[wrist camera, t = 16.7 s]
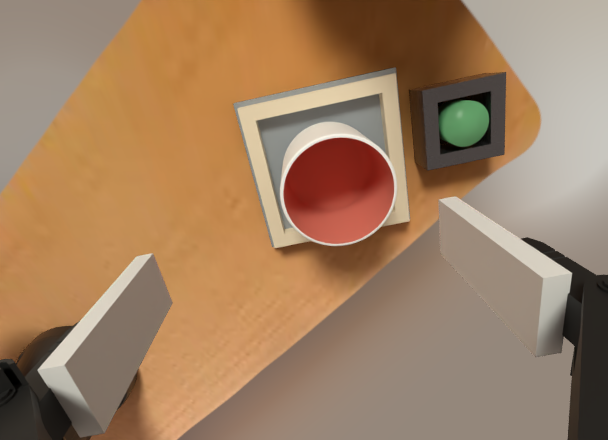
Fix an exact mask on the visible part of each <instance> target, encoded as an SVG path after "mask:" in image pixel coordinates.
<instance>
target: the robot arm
mask: <svg viewBox="0 0 608 440" xmlns="http://www.w3.org/2000/svg"><path fill="white" fill-rule="evenodd" d="M439 225H440V227H439V228H440V253H441V255H442V256H443V257H444V258H445V259H446V260H447V261H448V262H449V263H450V264H451V266H453V268H454V269H455V270H456V271H457V272H458V273H459V274H460V275H461V276H462V278H463V279H464V280H465V281H466V282H467V283H468V284H469V285H470V286H471V287H472V289H473V290H474V291H475V292H476V293H477V294H478V295H479V296H480V297H481V298H482V299H483V301H484V302H485V303H486V304H487V305H488V306H489V307H490V308H491V309H492V310H493V311H494V313H495V314H496V315H497V316H498V317H499V318H500V319H501V320H502V321H503V322H504V323H505V324H506V326H507V327H508V328H509V329H510V330H511V331H512V332H513V333H514V334H515V335H516V337H517V338H518V339H519V340H520V341H521V342H522V343H523V344H524V345H525V346H526V348H527V349H528V350H529V351H530V352H531V353H532V354H533V355H534V356H535V357H540V356H546V355H551V354H557V353H561V351H562V344H563V337H565V338H566V339H568V340H569V341H570V342H571V343H572V344H573V345H574V346H575V347H574V354H573V360H572V367H571V374H570V375H571V376H572V383H571V396H570V411H569V412H570V413H569V427H568V440H608V275H595V274H594V273H592V272H590V271H589V270H587V269H585V268H584V267H582V266H581V265H579V264H577V263H576V262H574V261H572V260H571V259H569V258H567V257H565V256H564V255H563V254H561V253H559V252H558V251H555V250H554V249H553V248H551V247H550V246H548V245H546V244H544V243H543V242H540V241H537V240H534V239H530V238H522V239H520V238H518V237H516V236H515V235H513V234H512V233H510V232H509V231H507V230H506V229H504V228H503V227H501V226H500V225H498V224H497V223H495V222H494V221H492V220H491V219H489V218H488V217H486V216H485V215H483V214H482V213H480V212H478V211H477V210H475V209H474V208H472V207H471V206H469V205H468V204H466V203H465V202H463V201H462V200H460V199H459V198H457V197H456V196H455V197H450V198H444V199H439ZM171 305H172V300H171V298H170V295H169V292H168V290H167V287H166V285H165V282H164V280H163V277H162V275H161V272H160V270H159V267H158V265H157V262H156V260H155V257H154V255H153V253H152V254H147V255H141V256H137V257H136V258H135V259H134V260H133V261H132V262H131V263H130V265H129V266H128V267H127V268H126V269H125V270H124V271H123V273H122V274H121V275H120V276H119V277H118V278H117V279H116V281H115V282H114V283H113V284H112V285H111V286H110V287H109V289H108V290H107V291H106V292H105V293H104V294H103V295H102V297H101V298H100V299H99V300H98V301H97V302H96V303H95V305H94V306H93V307H92V308H91V309H90V310H89V311H88V313H87V314H86V315H85V316H84V317H83V318H82V319H81V321H79V322H78V323H76V324H75V325H74V326H63V327H57V328H53V329H50V330H47V331H45V332H43V333H42V334H40V335H39V336H37V337H36V338H35V339H34V340H33V341H32V342H31V343H30V344H29V345H28V346H27V347H26V348H25V349H24V351H23V352H22V353H21V355H20V356H19V358H18V361H17V363H15V362H14V361H13V360H12V359H3V360H0V440H90V438H91V436H92V435H98V434H104V433H105V432H106V430H107V428H108V426H109V424H110V422H111V420H112V418H113V416H114V414H115V412H116V410H118V409H119V408H120V407H121V406H122V405H123V404H124V402H125V401H126V400H127V398H128V396H129V394H130V392H131V390H132V389H133V387H134V385H135V382H136V377H137V370H138V368H139V366H140V364H141V363H142V361H143V359H144V357H145V355H146V353H147V351H148V349H149V347H150V345H151V343H152V341H153V340H154V338H155V336H156V334H157V332H158V330H159V328H160V326H161V324H162V322H163V320H164V318H165V317H166V315H167V313H168V311H169V309H170V307H171Z"/></svg>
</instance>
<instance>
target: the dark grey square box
mask: <svg viewBox="0 0 608 440" xmlns="http://www.w3.org/2000/svg"><path fill="white" fill-rule="evenodd" d="M470 95H471V101H476V102H479V103H481V104H482V105H483V106H484V107H485V108H486V109H487V111H488V115H489V124H488V128H487V130H486V132H485V134H484V135H483V137H482V138H481V139H480V140H479V141H477V142H476V143H474V144H472V145H470V146H465V147H460V146H456V145H453V144H451V143H446V144H441V145H440V139H439V120H438V102H442V101H447V100H452V99H456V98H461V97H465V96H470ZM409 96H410V109H411V121H412V133H413V145H414V157H415V162H416V163H417V164H419V165H420V166H422V167H423V168H425V169H426V170H432V169H437V168H442V167H447V166H452V165H456V164H461V163H466V162H471V161H476V160H480V159H485V158H490V157H495V156H500V155H504V147H505V98H506V72H501V73H483V74H478V75H474V76H469V77H465V78H460V79H456V80H451V81H446V82H442V83H437V84H433V85H428V86H424V87H419V88H415V89H410V90H409Z"/></svg>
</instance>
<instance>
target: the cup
mask: <svg viewBox="0 0 608 440" xmlns="http://www.w3.org/2000/svg"><path fill="white" fill-rule="evenodd" d="M396 196H397V178H396V173H395V170H394V167H393V165H392V163H391V161H390V159H389V158H388V156H387V155H386V154H385V152H384V151H383V150H382V149H381V148H380V147H378V146H377V145H376V144H375V143H373V142H372V141H371V140H369V139H368V138H367V137H365V136H364V135H363V134H361V133H360V132H359V131H357V130H356V129H354V128H353V127H351V126H349V125H346V124H343V123H339V122H322V123H318V124H314V125H312V126H310V127H308V128H306V129H304V130H303V131H301V132H300V133H299V134H298V135H297V136H296V137H295V138H294V139H293V140H292V142H291V143H290V145H289V146H288V148H287V150H286V153H285V156H284V160H283V166H282V175H281V184H280V200H281V205H282V209H283V212H284V214H285V216H286V218H287V220H288V221H289V223H290V224H291V225H292V227H293V228H294V229H295V230H296V231H297V232H298V233H299V234H301V235H302V236H304V237H305V238H307V239H309V240H311V241H313V242H315V243H318V244H322V245H327V246H344V245H350V244H354V243H356V242H359V241H361V240H364V239H366V238H367V237H369V236H371V235H372V234H373V233H375V232H376V231H377V230H378V229H379V228H380V227H381V226H382V225H383V224H384V223H385V221H386V220H387V218H388V217H389V215H390V213H391V212H392V209H393V207H394V204H395V201H396Z"/></svg>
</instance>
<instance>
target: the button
mask: <svg viewBox="0 0 608 440" xmlns="http://www.w3.org/2000/svg"><path fill="white" fill-rule="evenodd" d="M438 120H439V139H441V140H443V141H446V142H448V143H451V144H453V145H456V146H460V147H465V146H470V145H472V144H474V143H476V142H477V141H479V140H480V139H481V138H482V137H483V135H484V134H485V132H486V130H487V128H488V124H489V115H488V111H487V109H486V108H485V107H484V106H483V105H482V104H481V103H479V102H476V101H470V100H460V99H453V100H449V101H446V102H445V103H443V104H442V105H441V106H440V107H439V108H438Z"/></svg>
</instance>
